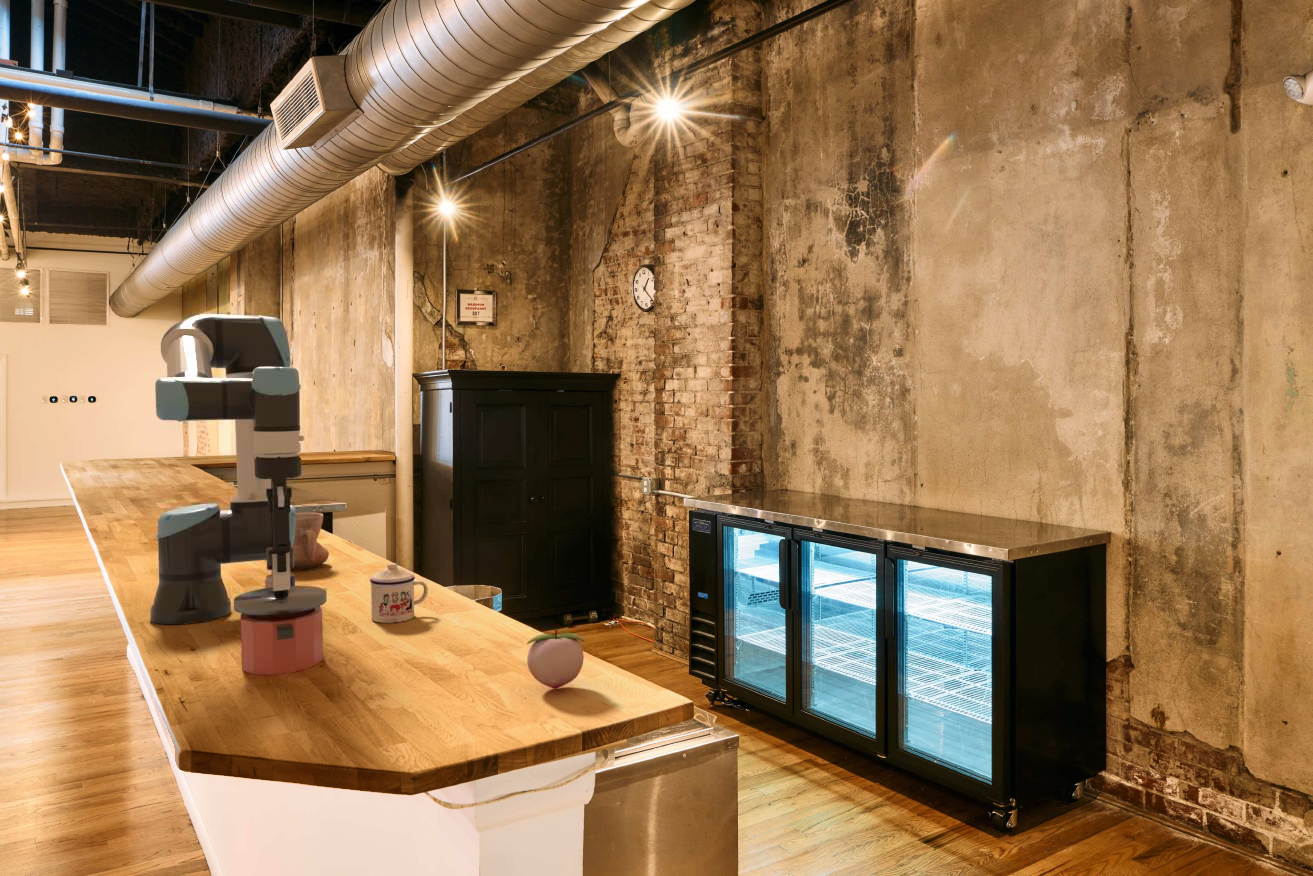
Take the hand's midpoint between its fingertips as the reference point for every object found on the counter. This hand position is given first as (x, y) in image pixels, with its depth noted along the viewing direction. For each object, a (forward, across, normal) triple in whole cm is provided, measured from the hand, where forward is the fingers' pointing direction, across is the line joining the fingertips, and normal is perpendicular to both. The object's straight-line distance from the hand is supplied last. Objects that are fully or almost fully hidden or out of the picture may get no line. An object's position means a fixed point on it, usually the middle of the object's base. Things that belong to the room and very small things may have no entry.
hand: (281, 586), depth 150 cm
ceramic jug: (+14, +84, -9) cm, 86 cm away
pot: (+14, 0, 0) cm, 14 cm away
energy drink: (+14, +18, -1) cm, 22 cm away
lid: (+3, 0, 0) cm, 3 cm away
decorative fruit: (+14, -35, -39) cm, 54 cm away
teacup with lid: (+14, +21, -24) cm, 35 cm away
